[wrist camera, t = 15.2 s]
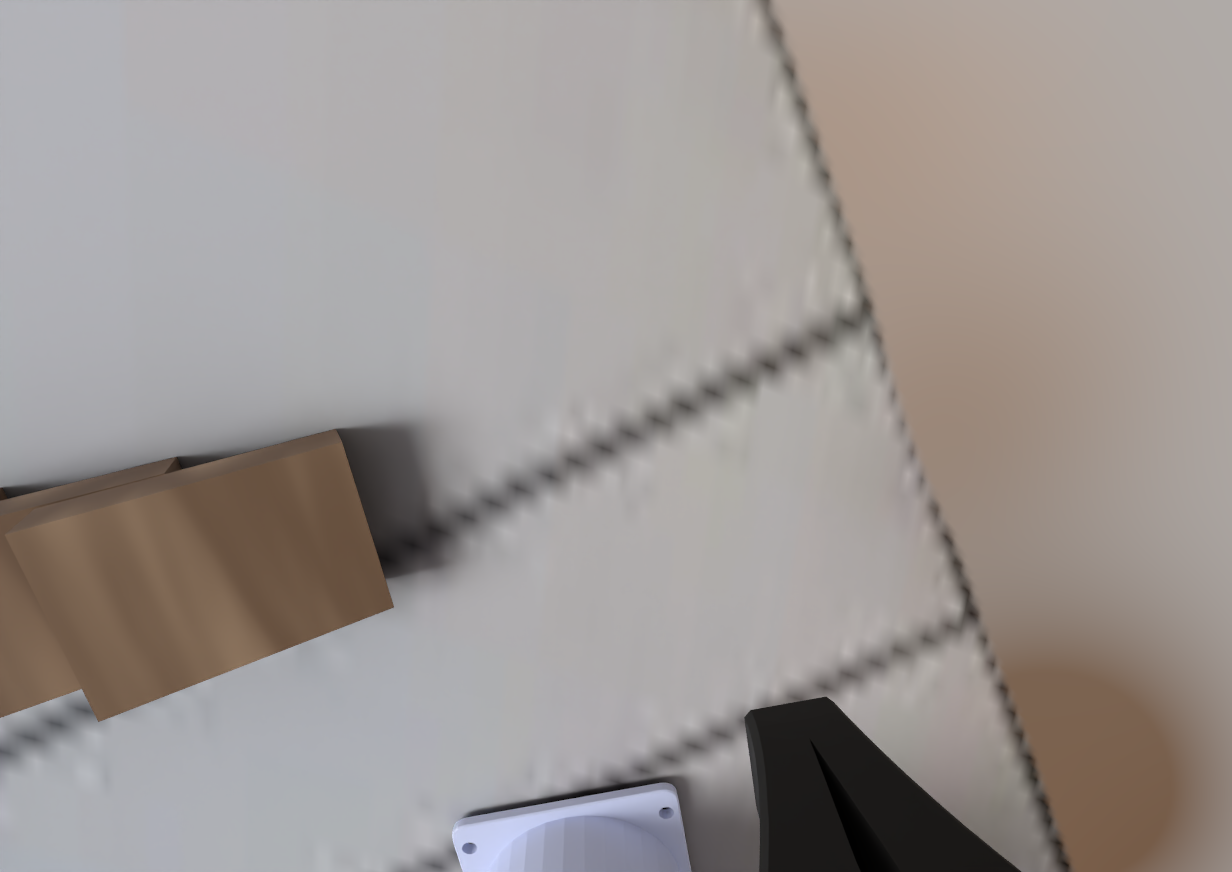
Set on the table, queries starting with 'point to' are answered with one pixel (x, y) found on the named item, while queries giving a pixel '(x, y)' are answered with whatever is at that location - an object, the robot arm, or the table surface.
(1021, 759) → the table surface
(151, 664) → the end domino
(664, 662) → the table surface
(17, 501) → the domino
